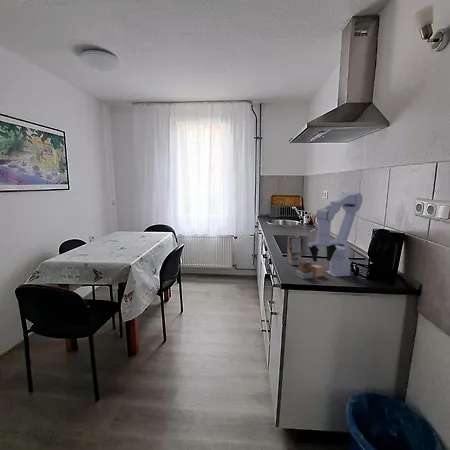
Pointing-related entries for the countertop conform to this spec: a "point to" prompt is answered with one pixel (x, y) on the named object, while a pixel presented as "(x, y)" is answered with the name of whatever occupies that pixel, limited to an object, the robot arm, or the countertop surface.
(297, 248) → the coffee box
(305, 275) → the plinth block
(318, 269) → the terracotta block
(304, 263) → the walnut block
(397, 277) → the countertop surface
